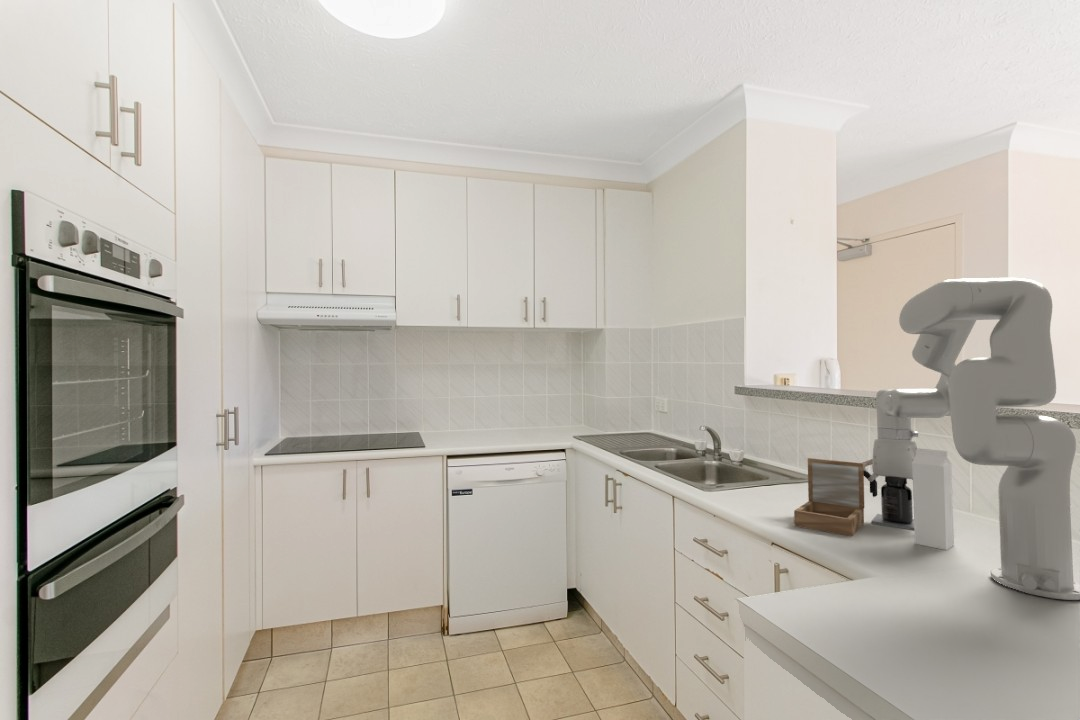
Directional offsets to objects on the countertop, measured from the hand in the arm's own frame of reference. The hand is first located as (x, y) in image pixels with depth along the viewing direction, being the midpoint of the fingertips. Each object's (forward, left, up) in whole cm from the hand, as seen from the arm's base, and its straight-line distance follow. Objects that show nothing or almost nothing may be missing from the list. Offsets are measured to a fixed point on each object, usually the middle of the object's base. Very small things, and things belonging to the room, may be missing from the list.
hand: (896, 498), depth 134 cm
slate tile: (0, 0, -7) cm, 7 cm away
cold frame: (-14, +13, -7) cm, 20 cm away
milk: (-16, -9, -7) cm, 19 cm away
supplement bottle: (0, 0, -6) cm, 6 cm away
